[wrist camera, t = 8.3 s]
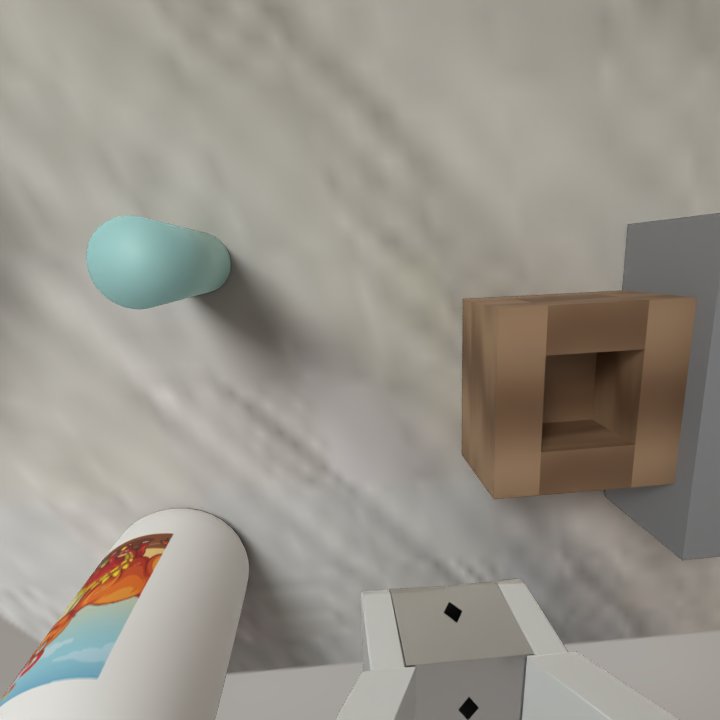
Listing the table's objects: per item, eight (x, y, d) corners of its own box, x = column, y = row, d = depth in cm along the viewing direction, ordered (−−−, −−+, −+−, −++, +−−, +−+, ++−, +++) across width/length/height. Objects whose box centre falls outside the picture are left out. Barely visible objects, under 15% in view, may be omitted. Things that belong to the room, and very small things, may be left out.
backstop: (627, 224, 24) (728, 211, 18) (663, 223, 24) (774, 209, 18) (604, 495, 27) (682, 560, 21) (636, 493, 27) (721, 556, 21)
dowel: (165, 233, 22) (78, 217, 14) (227, 230, 22) (175, 213, 14) (174, 294, 22) (95, 311, 15) (233, 291, 23) (187, 306, 15)
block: (462, 299, 24) (498, 308, 19) (622, 290, 24) (697, 297, 19) (461, 454, 26) (493, 499, 21) (609, 443, 26) (674, 483, 21)
